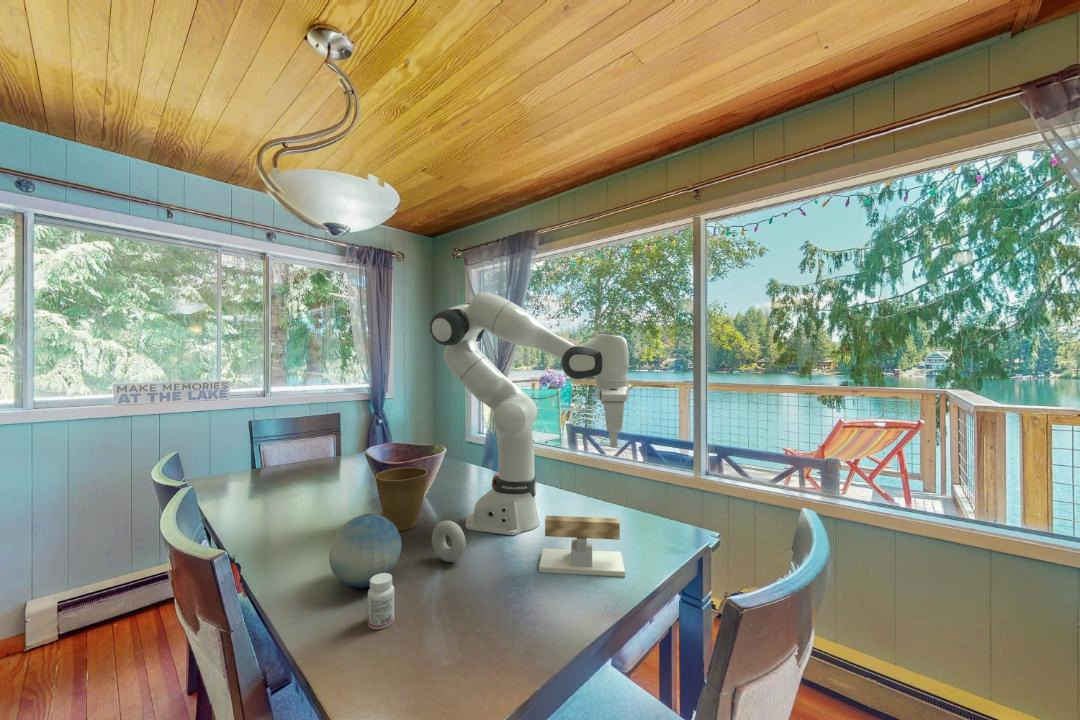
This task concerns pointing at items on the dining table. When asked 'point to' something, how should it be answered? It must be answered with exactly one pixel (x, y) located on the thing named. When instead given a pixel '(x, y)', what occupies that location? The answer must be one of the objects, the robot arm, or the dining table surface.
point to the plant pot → (402, 495)
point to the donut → (456, 537)
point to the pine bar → (582, 527)
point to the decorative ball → (364, 550)
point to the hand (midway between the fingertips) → (612, 443)
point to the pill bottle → (381, 601)
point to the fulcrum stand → (582, 560)
